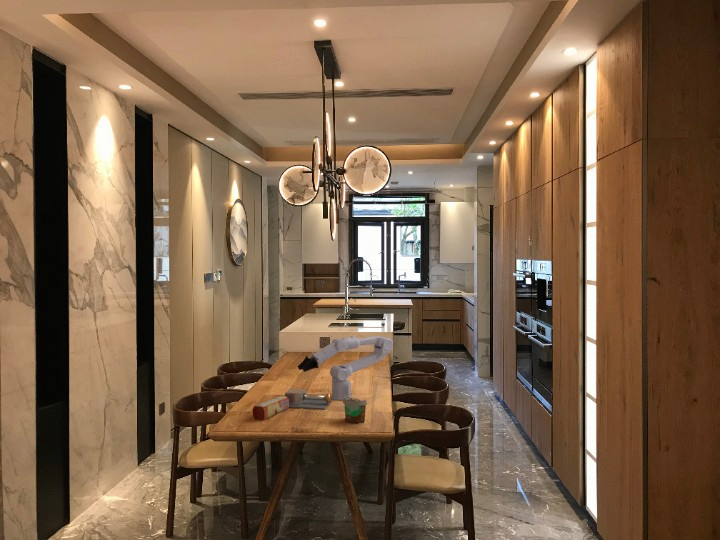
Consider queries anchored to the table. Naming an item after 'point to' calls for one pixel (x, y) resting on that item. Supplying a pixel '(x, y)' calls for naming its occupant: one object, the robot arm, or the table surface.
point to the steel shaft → (318, 397)
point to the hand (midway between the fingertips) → (300, 369)
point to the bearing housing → (295, 396)
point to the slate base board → (312, 404)
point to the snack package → (270, 407)
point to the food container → (354, 410)
